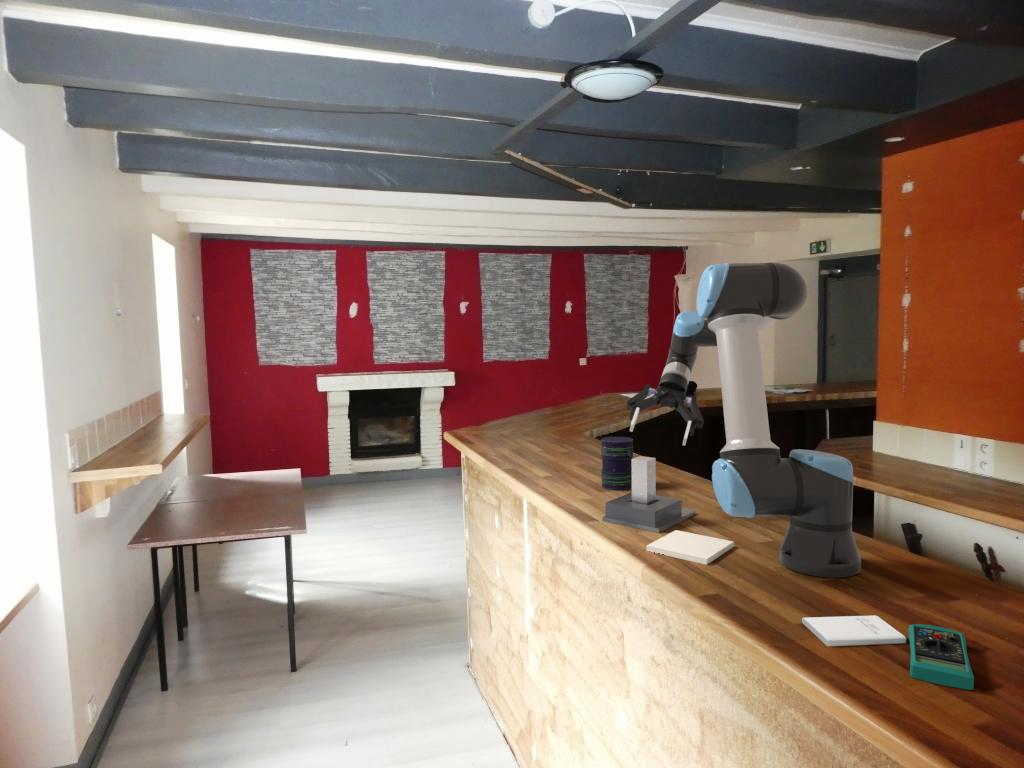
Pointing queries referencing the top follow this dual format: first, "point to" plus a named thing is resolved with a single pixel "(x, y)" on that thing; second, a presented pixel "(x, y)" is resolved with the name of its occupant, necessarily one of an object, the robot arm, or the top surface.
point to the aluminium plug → (644, 480)
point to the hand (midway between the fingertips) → (657, 435)
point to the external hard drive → (853, 630)
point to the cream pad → (690, 546)
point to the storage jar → (616, 463)
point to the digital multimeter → (939, 656)
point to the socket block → (646, 513)
